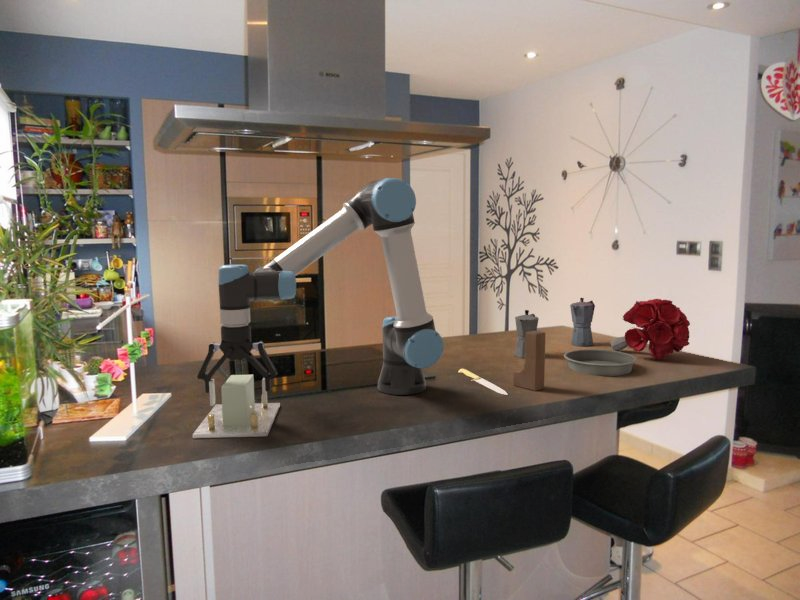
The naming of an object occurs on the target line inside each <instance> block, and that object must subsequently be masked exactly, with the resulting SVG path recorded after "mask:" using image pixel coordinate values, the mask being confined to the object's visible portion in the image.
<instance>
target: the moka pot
mask: <svg viewBox="0 0 800 600" xmlns="http://www.w3.org/2000/svg"><path fill="white" fill-rule="evenodd" d="M579 299H580V301H579V302H572V303H571V304H570V306H569V307H570V313H571V321H572V325H573V329H572V337H571V345H572V346H576V347H591V346H594V338H593V334H592V333H593V332H592V327H591V326H592V323H593V319H594V318H593V317H594V312H595V308H596V305H595V303H594V301H593V300H592V299H591V300H589V301H584V297H580V298H579Z"/></svg>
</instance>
